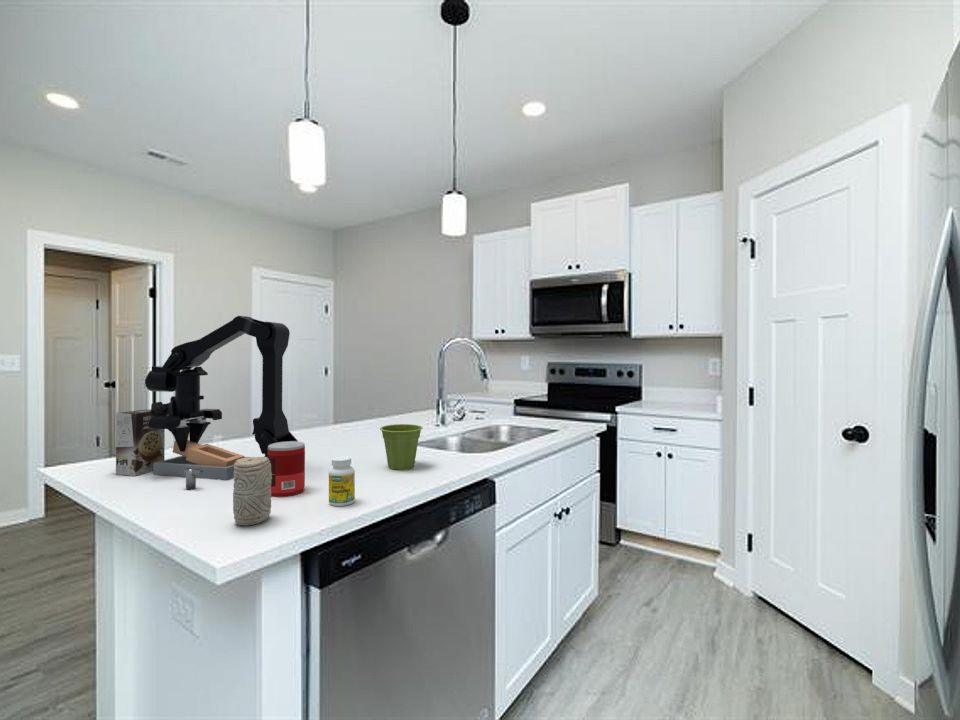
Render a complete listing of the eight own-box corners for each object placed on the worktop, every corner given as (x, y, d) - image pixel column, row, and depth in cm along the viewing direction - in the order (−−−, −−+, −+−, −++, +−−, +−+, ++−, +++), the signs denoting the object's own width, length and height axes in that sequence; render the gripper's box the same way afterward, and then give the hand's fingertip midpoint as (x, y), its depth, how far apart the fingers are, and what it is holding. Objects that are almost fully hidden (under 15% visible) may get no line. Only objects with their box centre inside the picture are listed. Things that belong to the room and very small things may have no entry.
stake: (204, 488, 110) (204, 468, 110) (197, 490, 109) (197, 470, 108) (189, 486, 111) (189, 467, 111) (183, 489, 109) (183, 469, 109)
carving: (225, 528, 86) (225, 463, 86) (245, 514, 93) (245, 454, 93) (259, 529, 86) (260, 463, 86) (277, 514, 93) (277, 454, 93)
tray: (259, 468, 129) (259, 457, 129) (227, 480, 117) (227, 468, 117) (190, 463, 134) (190, 453, 134) (153, 474, 122) (153, 463, 122)
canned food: (311, 489, 111) (311, 442, 111) (287, 498, 103) (287, 449, 103) (285, 485, 113) (285, 440, 113) (259, 495, 106) (260, 446, 106)
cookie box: (135, 476, 120) (135, 413, 120) (114, 474, 121) (114, 412, 121) (166, 467, 129) (165, 409, 129) (146, 466, 130) (146, 408, 130)
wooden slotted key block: (242, 467, 127) (244, 456, 127) (224, 473, 121) (227, 461, 120) (186, 448, 130) (189, 437, 130) (167, 453, 124) (169, 442, 124)
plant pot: (370, 468, 131) (370, 427, 130) (400, 460, 140) (401, 422, 140) (401, 475, 124) (401, 432, 124) (431, 466, 134) (431, 426, 133)
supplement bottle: (355, 498, 104) (355, 455, 104) (354, 506, 99) (354, 460, 99) (329, 499, 103) (329, 456, 103) (327, 507, 98) (327, 461, 98)
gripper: (190, 388, 137) (190, 442, 137) (130, 394, 119) (130, 456, 119) (223, 389, 135) (223, 444, 135) (167, 395, 117) (167, 458, 117)
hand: (187, 450), depth 127 cm, fingers closed on wooden slotted key block, 3 cm apart
